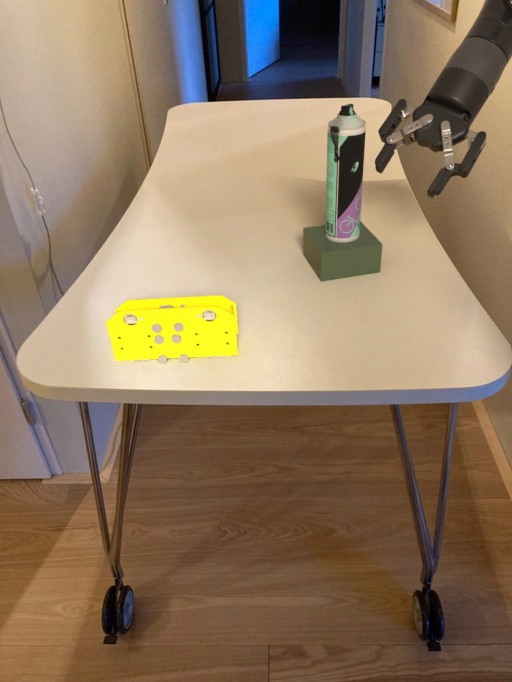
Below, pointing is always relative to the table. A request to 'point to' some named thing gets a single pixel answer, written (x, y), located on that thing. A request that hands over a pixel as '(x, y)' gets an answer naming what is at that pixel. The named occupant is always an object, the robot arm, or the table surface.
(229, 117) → the table surface
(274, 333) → the table surface
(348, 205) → the spray can
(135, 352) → the yellow toy chassis
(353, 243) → the sage block
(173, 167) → the table surface
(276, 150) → the table surface
